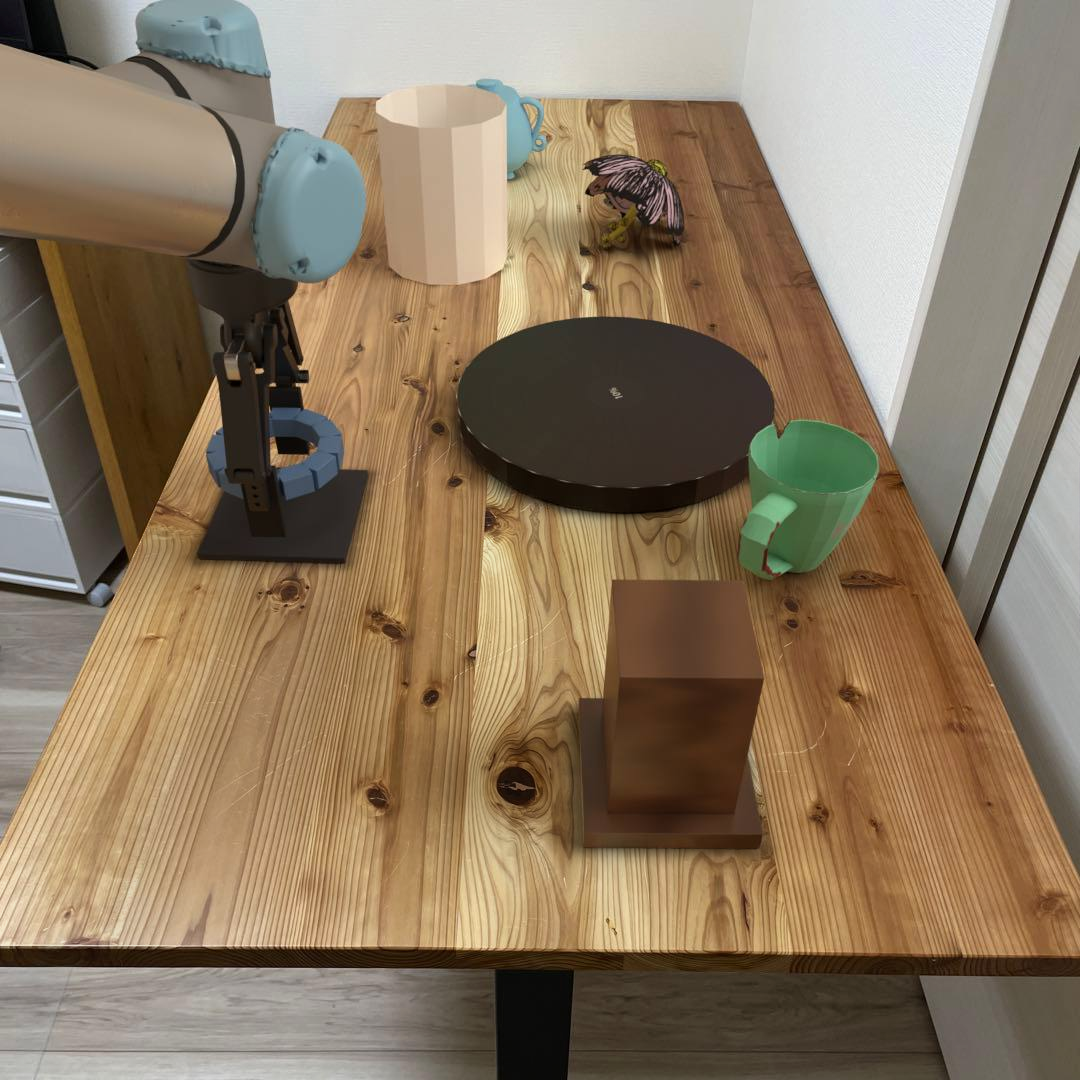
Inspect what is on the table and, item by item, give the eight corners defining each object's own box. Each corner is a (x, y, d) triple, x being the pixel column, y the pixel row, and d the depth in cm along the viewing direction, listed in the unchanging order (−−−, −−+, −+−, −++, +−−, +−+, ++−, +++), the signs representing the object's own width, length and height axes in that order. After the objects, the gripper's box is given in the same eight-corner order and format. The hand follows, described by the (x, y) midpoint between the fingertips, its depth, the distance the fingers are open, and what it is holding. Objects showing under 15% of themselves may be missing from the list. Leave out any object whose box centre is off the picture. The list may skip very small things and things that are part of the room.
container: (413, 294, 122) (402, 135, 110) (370, 245, 132) (355, 94, 120) (527, 270, 127) (527, 115, 116) (477, 224, 137) (473, 77, 125)
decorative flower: (724, 181, 123) (603, 144, 120) (692, 279, 128) (573, 246, 124) (692, 169, 137) (581, 135, 133) (663, 259, 141) (555, 228, 137)
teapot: (541, 196, 144) (542, 106, 136) (419, 191, 145) (413, 101, 137) (551, 142, 159) (552, 59, 152) (440, 138, 160) (436, 55, 152)
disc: (407, 383, 107) (405, 357, 106) (655, 315, 119) (657, 290, 117) (556, 556, 88) (557, 528, 86) (836, 454, 99) (842, 427, 97)
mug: (765, 501, 93) (783, 405, 87) (871, 544, 89) (899, 446, 83) (682, 595, 84) (695, 494, 78) (797, 647, 80) (821, 546, 74)
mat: (345, 563, 87) (344, 558, 86) (198, 559, 87) (196, 553, 86) (368, 475, 96) (367, 469, 95) (235, 471, 96) (234, 465, 96)
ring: (197, 500, 83) (192, 482, 82) (227, 424, 92) (223, 406, 90) (332, 502, 84) (330, 483, 82) (351, 425, 92) (349, 408, 91)
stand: (583, 847, 67) (593, 697, 58) (578, 711, 75) (586, 562, 66) (759, 848, 67) (796, 699, 58) (734, 713, 75) (764, 563, 66)
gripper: (258, 322, 67) (304, 584, 81) (317, 179, 84) (346, 415, 98) (137, 321, 66) (204, 583, 81) (221, 178, 84) (264, 414, 98)
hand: (282, 491), depth 90 cm, fingers closed on ring, 10 cm apart
